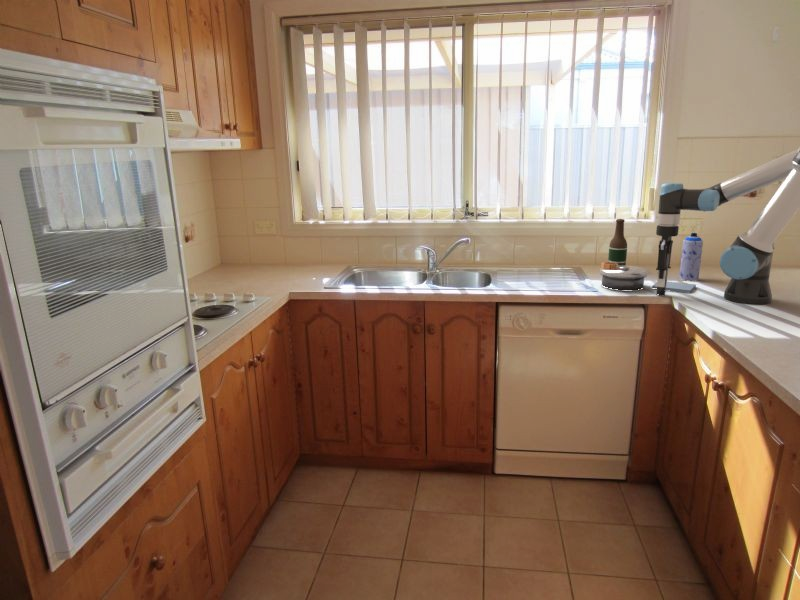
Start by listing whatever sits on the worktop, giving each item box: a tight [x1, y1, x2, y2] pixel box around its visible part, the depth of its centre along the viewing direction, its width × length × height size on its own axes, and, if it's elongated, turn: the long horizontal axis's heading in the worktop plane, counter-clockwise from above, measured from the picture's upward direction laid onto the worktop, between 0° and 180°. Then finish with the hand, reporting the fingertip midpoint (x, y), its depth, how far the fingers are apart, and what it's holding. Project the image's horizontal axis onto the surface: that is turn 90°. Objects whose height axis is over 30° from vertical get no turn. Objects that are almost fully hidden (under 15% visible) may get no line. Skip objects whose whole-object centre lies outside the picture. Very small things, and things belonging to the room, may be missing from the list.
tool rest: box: [651, 280, 697, 294], centre depth 227 cm, size 14×12×1 cm
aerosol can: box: [678, 232, 704, 281], centre depth 240 cm, size 8×8×20 cm
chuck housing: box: [601, 275, 645, 290], centre depth 230 cm, size 16×16×5 cm
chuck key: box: [656, 254, 669, 296], centre depth 215 cm, size 3×3×16 cm
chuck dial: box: [599, 261, 649, 279], centre depth 229 cm, size 18×18×4 cm
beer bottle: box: [607, 218, 628, 266], centre depth 258 cm, size 8×8×24 cm
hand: (661, 285), depth 216 cm, fingers closed on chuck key, 3 cm apart
